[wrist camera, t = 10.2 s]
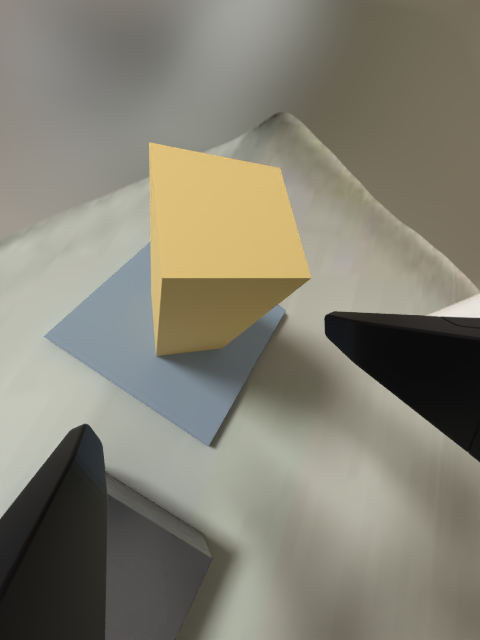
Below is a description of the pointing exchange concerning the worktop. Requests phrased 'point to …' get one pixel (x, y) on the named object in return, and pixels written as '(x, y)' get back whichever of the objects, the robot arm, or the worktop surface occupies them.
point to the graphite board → (149, 567)
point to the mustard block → (217, 247)
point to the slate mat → (140, 354)
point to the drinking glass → (461, 308)
